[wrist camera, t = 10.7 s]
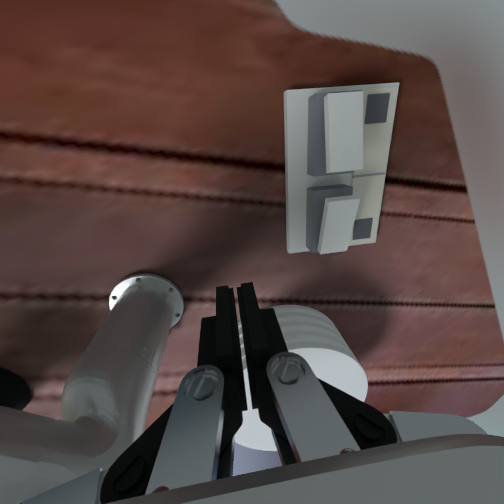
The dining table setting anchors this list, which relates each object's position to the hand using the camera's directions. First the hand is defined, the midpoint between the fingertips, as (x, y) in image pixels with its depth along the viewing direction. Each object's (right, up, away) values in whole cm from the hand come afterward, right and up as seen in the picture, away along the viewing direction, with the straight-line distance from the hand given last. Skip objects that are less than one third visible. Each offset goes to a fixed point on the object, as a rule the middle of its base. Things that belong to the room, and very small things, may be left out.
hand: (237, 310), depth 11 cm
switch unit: (+14, +15, +27) cm, 34 cm away
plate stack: (+7, -21, +43) cm, 48 cm away
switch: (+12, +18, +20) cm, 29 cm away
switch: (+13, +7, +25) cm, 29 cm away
